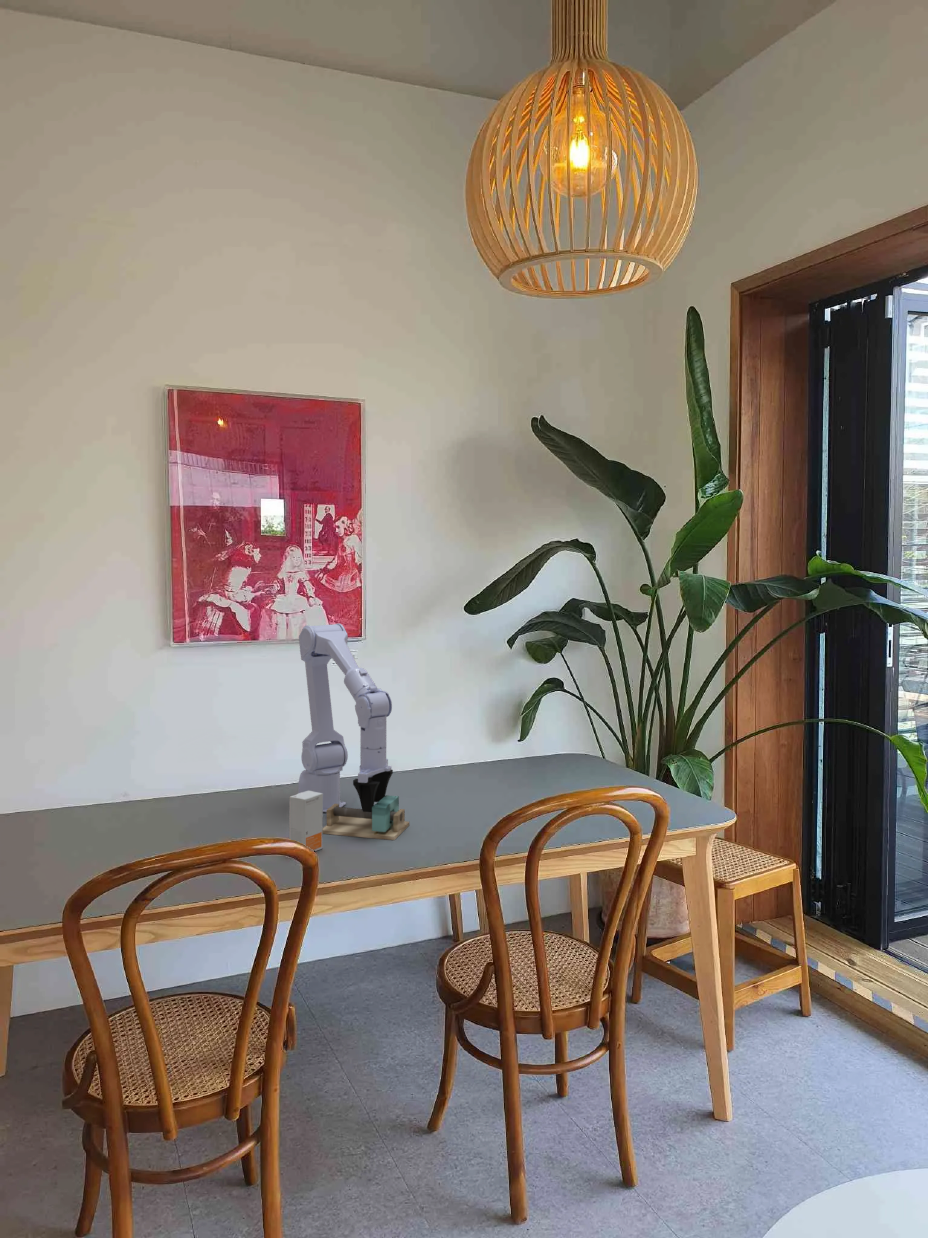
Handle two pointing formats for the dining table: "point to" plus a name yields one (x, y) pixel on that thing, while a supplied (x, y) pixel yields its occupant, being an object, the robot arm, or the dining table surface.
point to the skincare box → (306, 818)
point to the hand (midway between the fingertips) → (373, 806)
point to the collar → (384, 813)
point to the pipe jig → (361, 823)
